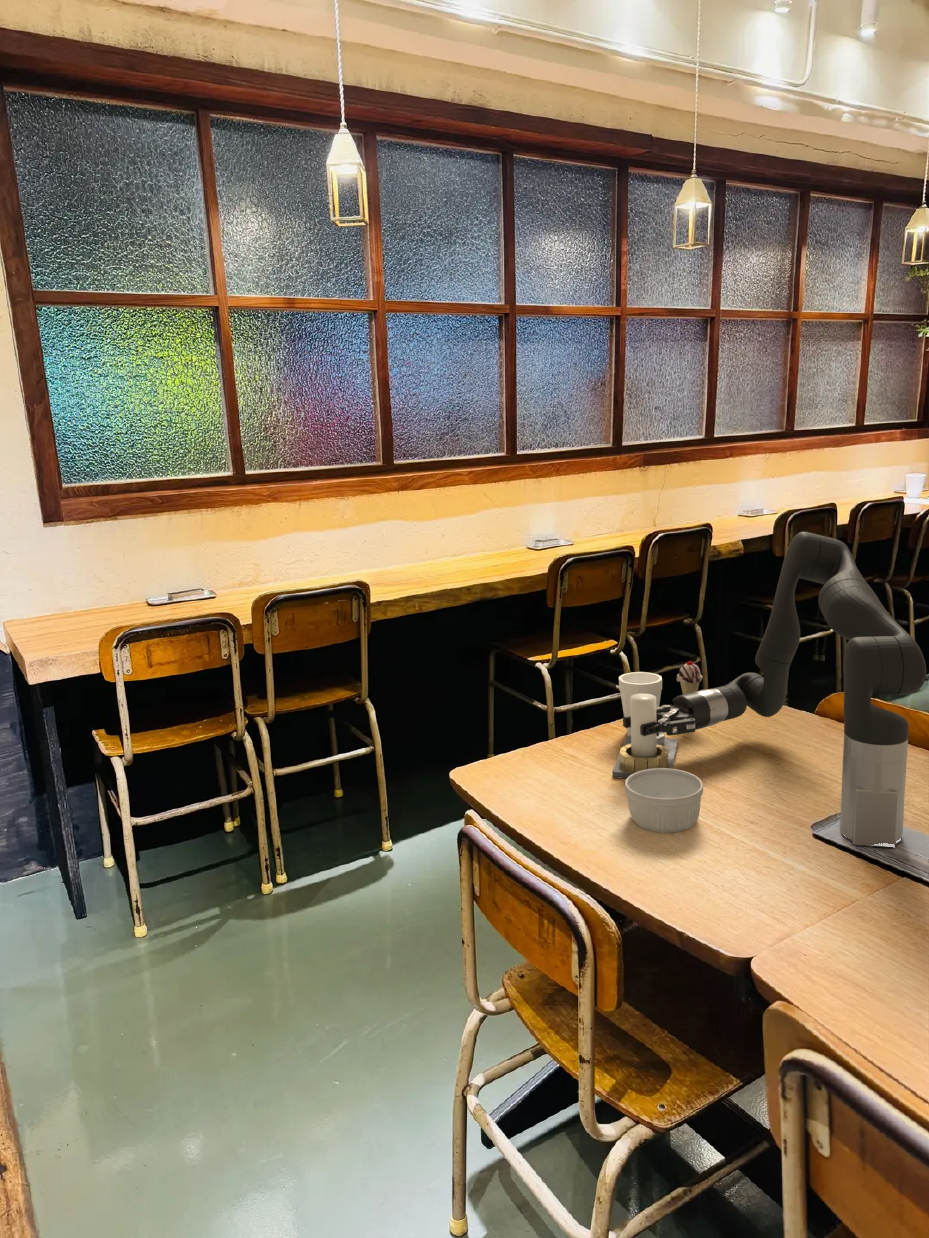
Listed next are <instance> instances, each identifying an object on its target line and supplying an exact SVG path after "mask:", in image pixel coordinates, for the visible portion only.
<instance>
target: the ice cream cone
mask: <svg viewBox="0 0 929 1238" xmlns="http://www.w3.org/2000/svg"><path fill="white" fill-rule="evenodd" d="M680 666H681V667H680V668H679V672H678V674H677V675H676V682H680V687H681V691H682V695H684V694H688V693H692V692H696V691H699V686H700V683H701V682H702V680H703V677H704V676H703V675H702V674H701V670H700V668H699V665H698V664H695V663H693V662H692V660H689V661H687V662H686V663H685V664H683V665H682V664H681V665H680Z"/></svg>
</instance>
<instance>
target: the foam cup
mask: <svg viewBox="0 0 929 1238" xmlns="http://www.w3.org/2000/svg"><path fill="white" fill-rule="evenodd" d="M618 690H619V691H620V693H619V694H620V697H621V704H622V711H623V718H624V717H625V716H629V715H631V708H630V697H631V696H632V695H635V694H651V695H654V696H656V707H660V702H661V695H662V690H663V678H662V675H659V674H658V673H653V672H646V671H635V672H634V671H633V672H629V673H628V672H627V673H623V674H621V675H619V676H618ZM625 731H626V736H631V727H629V728H625Z"/></svg>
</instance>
